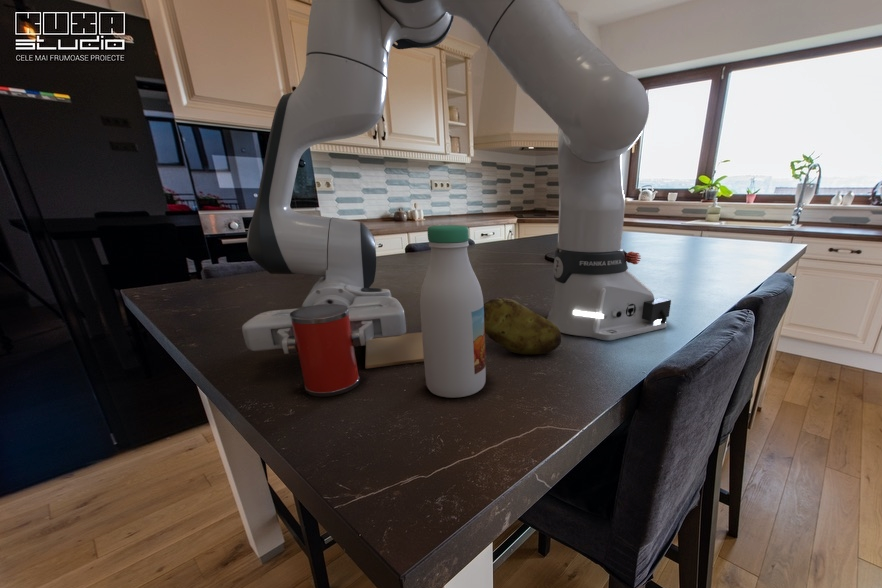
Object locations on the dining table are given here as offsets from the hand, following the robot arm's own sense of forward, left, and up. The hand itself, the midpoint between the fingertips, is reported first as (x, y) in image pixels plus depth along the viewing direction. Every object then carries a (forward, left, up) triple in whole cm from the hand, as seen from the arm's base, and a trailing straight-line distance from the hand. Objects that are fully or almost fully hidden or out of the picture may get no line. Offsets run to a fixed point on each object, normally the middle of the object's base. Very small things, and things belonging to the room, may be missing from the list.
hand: (325, 344), depth 49 cm
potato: (-27, -5, -6) cm, 28 cm away
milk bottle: (-15, +4, -6) cm, 17 cm away
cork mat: (-10, -11, -6) cm, 16 cm away
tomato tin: (0, -1, -6) cm, 6 cm away
